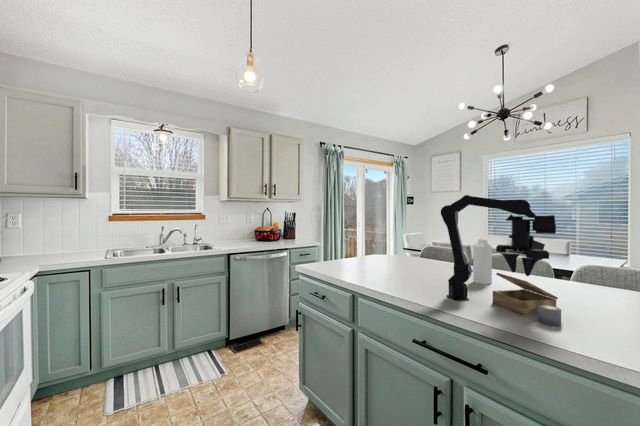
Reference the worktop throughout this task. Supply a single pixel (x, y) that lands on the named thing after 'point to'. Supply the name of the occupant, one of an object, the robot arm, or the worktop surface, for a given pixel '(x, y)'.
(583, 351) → the worktop surface
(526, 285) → the lid
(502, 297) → the box
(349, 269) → the worktop surface
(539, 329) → the worktop surface
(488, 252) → the milk
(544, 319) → the grey rounded block
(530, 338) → the worktop surface
